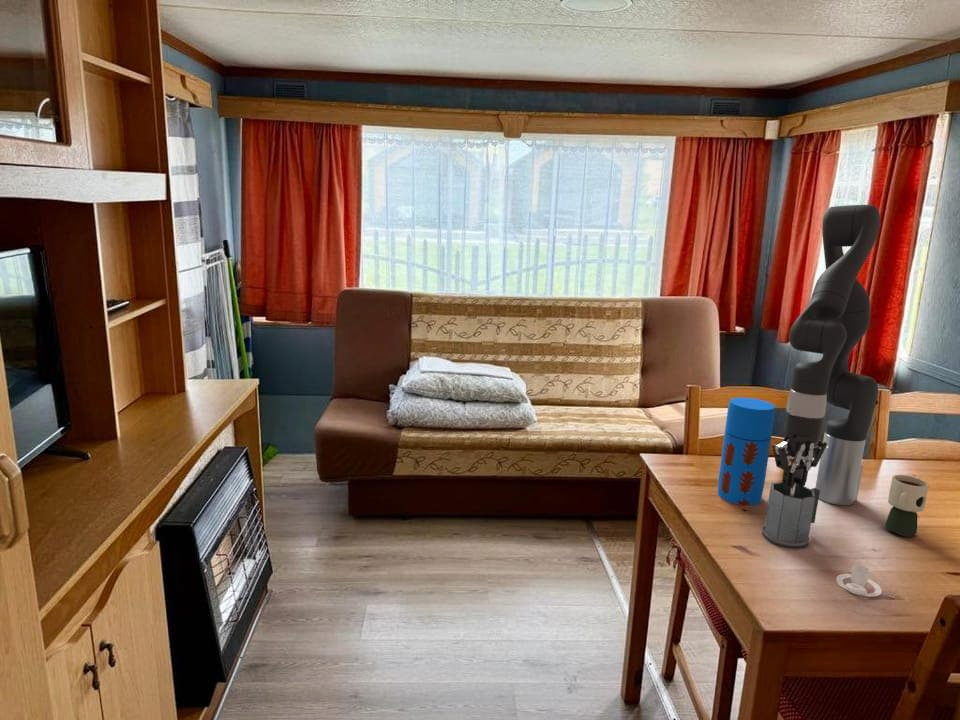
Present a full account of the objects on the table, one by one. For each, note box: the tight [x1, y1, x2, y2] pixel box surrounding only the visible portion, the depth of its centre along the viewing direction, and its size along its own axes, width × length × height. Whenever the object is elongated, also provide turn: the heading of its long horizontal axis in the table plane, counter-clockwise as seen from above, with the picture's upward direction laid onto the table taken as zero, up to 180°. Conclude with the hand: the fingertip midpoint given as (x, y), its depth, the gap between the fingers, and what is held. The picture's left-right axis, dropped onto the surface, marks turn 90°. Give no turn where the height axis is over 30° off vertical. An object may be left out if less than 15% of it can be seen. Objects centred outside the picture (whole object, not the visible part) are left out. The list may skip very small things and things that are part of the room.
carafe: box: [761, 481, 820, 550], centre depth 148 cm, size 12×10×12 cm
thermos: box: [717, 397, 776, 507], centre depth 167 cm, size 11×11×25 cm
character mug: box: [884, 474, 930, 538], centre depth 152 cm, size 11×7×13 cm, turn 136°
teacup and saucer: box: [835, 563, 883, 598], centre depth 130 cm, size 9×8×4 cm
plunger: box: [789, 464, 804, 497], centre depth 146 cm, size 7×7×14 cm
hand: (793, 485), depth 146 cm, fingers closed on plunger, 3 cm apart
